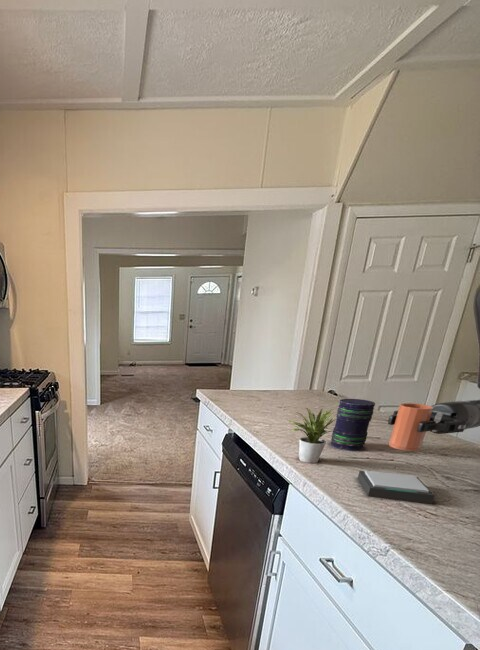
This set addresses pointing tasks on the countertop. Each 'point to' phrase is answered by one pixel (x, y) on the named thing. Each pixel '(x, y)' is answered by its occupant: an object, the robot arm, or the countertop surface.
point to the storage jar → (352, 424)
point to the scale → (395, 486)
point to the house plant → (312, 436)
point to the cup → (409, 426)
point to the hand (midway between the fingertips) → (404, 423)
